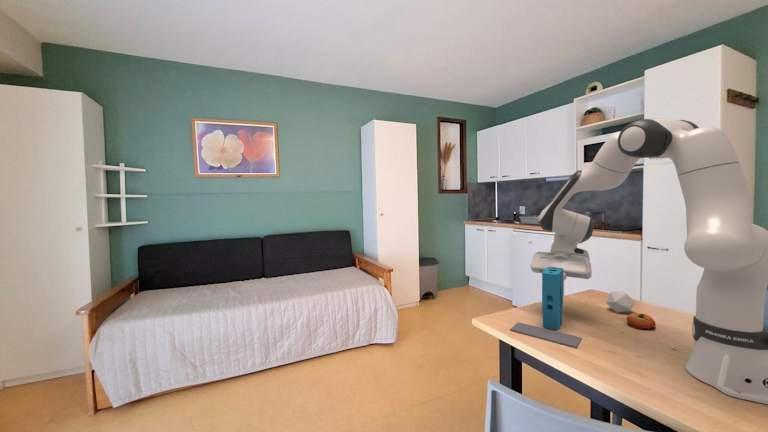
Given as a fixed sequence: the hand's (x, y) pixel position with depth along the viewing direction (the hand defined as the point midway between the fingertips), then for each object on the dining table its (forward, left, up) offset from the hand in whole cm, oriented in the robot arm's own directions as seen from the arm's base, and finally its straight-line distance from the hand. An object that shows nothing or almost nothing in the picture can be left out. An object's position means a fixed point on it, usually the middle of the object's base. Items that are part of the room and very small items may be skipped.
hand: (556, 283), depth 113 cm
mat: (0, +15, -14) cm, 21 cm away
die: (-17, -27, -14) cm, 35 cm away
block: (0, +4, -14) cm, 15 cm away
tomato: (-23, -13, -15) cm, 31 cm away
